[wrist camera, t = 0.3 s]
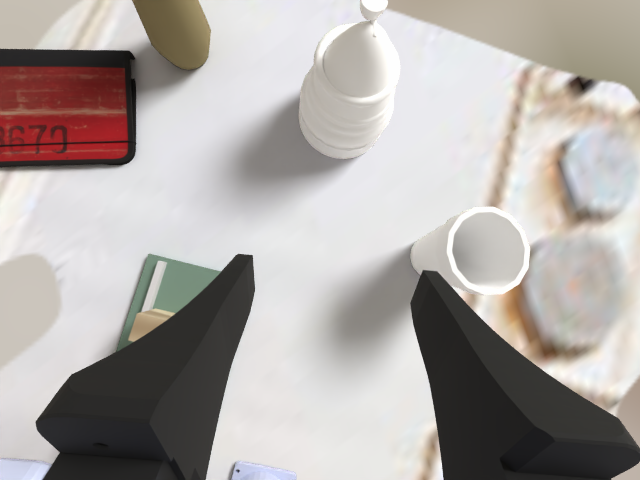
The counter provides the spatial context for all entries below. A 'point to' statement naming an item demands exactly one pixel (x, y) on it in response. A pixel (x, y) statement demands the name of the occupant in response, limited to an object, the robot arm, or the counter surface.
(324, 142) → the honey pot
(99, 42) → the counter surface
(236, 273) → the robot arm
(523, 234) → the foam cup
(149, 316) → the block
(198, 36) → the squeeze bottle
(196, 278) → the pitch mat
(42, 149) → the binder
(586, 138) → the counter surface
